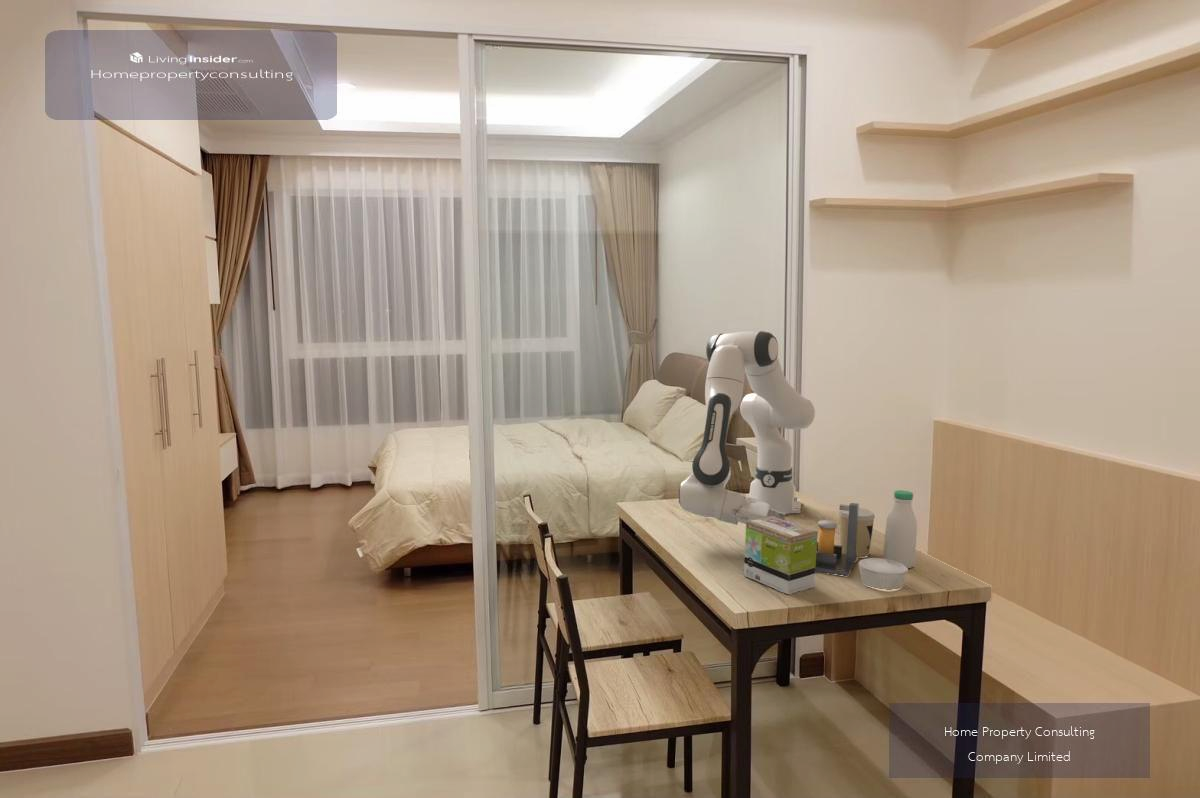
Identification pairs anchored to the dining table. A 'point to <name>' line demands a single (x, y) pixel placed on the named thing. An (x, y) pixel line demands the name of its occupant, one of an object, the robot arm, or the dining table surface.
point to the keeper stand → (838, 560)
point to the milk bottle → (901, 530)
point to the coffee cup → (863, 531)
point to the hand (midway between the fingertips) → (784, 520)
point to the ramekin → (882, 573)
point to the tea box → (780, 554)
